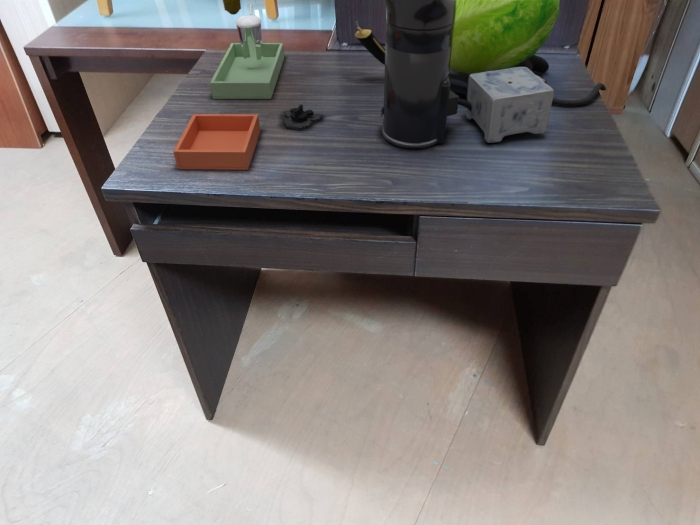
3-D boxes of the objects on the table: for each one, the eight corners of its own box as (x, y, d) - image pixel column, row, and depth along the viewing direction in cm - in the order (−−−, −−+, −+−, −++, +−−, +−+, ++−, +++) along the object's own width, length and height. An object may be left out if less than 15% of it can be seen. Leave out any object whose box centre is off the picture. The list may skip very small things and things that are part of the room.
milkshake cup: (269, 59, 107) (263, 5, 100) (263, 70, 103) (256, 15, 96) (246, 59, 107) (238, 5, 101) (239, 70, 103) (231, 14, 97)
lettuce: (450, 117, 95) (446, 70, 106) (583, 52, 85) (564, 6, 95) (409, 51, 87) (408, 6, 97) (551, -32, 76) (534, -73, 86)
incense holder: (517, 115, 91) (458, 116, 89) (531, 65, 86) (470, 64, 84) (545, 142, 84) (482, 144, 82) (562, 90, 79) (496, 90, 77)
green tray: (284, 57, 109) (283, 42, 107) (271, 99, 95) (269, 82, 93) (233, 57, 109) (231, 42, 107) (212, 98, 95) (209, 82, 94)
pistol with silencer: (488, 47, 83) (495, 93, 92) (357, 17, 95) (375, 60, 104) (475, 68, 82) (483, 113, 92) (344, 35, 94) (363, 78, 103)
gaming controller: (529, 80, 104) (507, 52, 101) (551, 65, 101) (528, 35, 99) (528, 105, 96) (503, 75, 94) (551, 89, 93) (526, 58, 91)
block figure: (274, 113, 86) (288, 97, 90) (276, 126, 88) (289, 111, 92) (310, 117, 85) (322, 102, 89) (311, 131, 86) (323, 115, 90)
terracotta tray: (260, 131, 87) (258, 114, 85) (248, 169, 78) (245, 152, 76) (196, 130, 87) (193, 113, 85) (177, 169, 79) (173, 151, 77)
